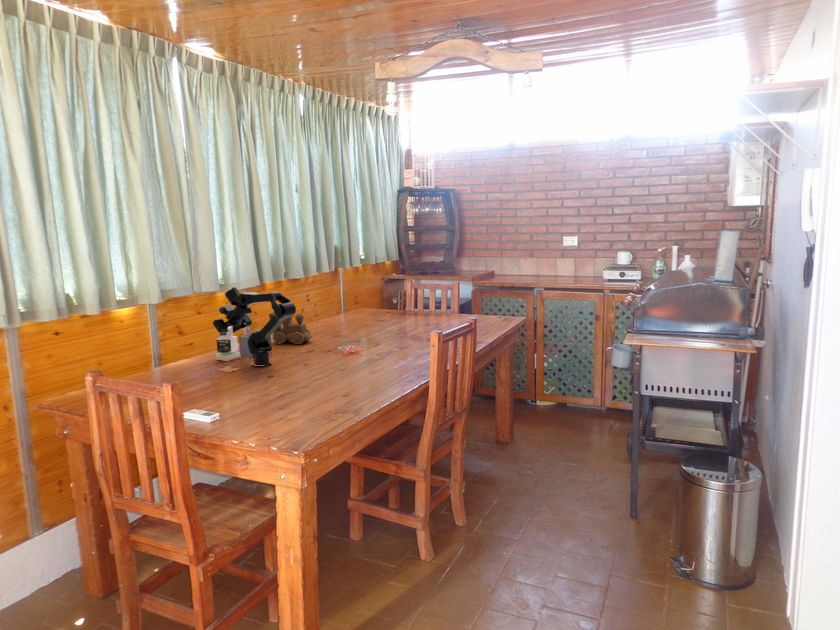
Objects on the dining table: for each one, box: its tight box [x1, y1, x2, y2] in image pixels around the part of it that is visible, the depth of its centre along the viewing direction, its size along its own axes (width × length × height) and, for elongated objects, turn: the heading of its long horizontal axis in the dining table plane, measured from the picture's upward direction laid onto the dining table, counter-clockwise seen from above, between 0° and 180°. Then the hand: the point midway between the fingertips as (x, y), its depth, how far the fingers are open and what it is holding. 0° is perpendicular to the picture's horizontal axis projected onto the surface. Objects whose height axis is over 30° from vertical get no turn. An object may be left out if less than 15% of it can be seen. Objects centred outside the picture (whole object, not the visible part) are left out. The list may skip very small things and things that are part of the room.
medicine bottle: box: [216, 326, 239, 354], centre depth 282 cm, size 7×7×12 cm
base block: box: [214, 351, 241, 359], centre depth 283 cm, size 8×8×3 cm
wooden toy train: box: [268, 311, 313, 345], centre depth 315 cm, size 20×11×17 cm, turn 77°
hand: (225, 334), depth 282 cm, fingers closed on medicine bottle, 6 cm apart
